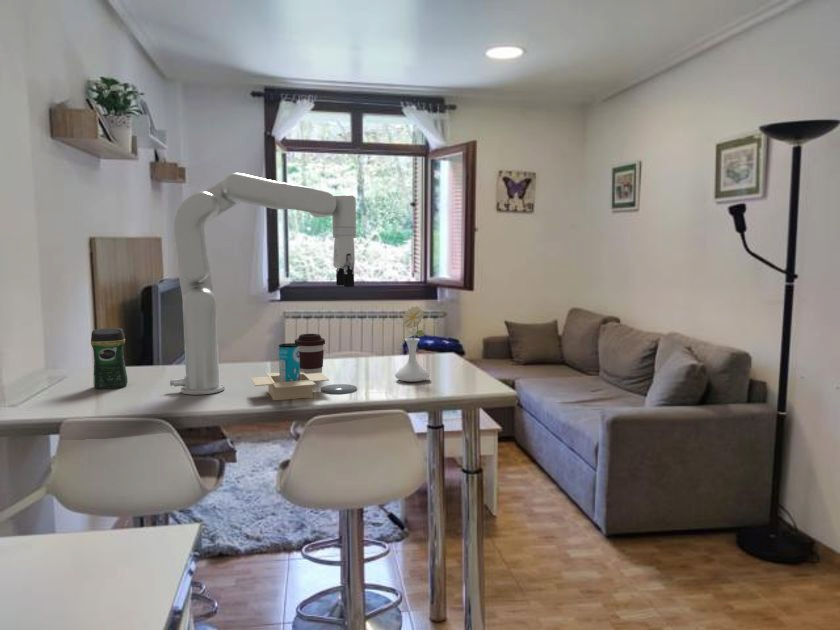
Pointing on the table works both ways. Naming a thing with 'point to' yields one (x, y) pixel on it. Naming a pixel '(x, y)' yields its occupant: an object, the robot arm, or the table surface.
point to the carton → (289, 385)
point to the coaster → (338, 389)
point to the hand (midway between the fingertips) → (345, 286)
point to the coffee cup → (311, 353)
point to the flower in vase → (412, 348)
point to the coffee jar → (108, 358)
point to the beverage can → (289, 362)
